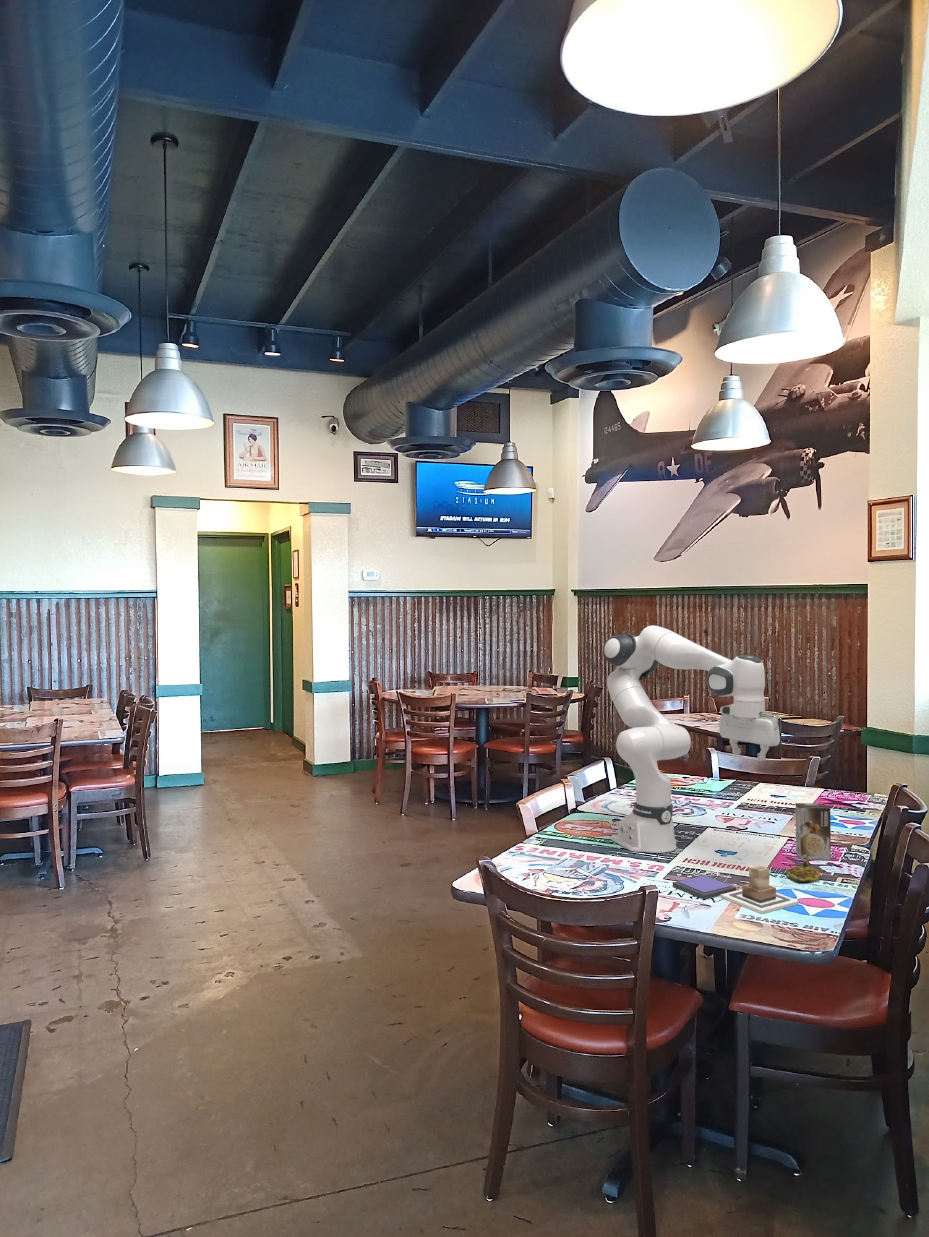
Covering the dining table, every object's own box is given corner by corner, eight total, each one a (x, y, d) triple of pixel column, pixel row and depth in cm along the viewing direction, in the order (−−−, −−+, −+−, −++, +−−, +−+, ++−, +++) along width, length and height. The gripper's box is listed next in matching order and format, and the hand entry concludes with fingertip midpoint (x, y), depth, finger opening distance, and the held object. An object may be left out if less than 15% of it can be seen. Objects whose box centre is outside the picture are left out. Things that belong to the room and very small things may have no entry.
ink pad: (672, 886, 243) (672, 881, 243) (704, 879, 249) (704, 874, 249) (704, 899, 233) (704, 894, 233) (736, 891, 239) (736, 886, 239)
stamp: (742, 896, 233) (742, 866, 232) (757, 892, 236) (758, 863, 235) (760, 903, 228) (760, 873, 227) (775, 899, 231) (776, 869, 230)
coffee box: (825, 854, 272) (826, 803, 271) (831, 860, 265) (831, 808, 265) (794, 853, 273) (795, 802, 272) (799, 859, 267) (800, 807, 266)
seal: (818, 891, 243) (822, 874, 256) (820, 874, 242) (824, 859, 256) (783, 882, 247) (788, 866, 260) (785, 866, 246) (790, 851, 260)
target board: (720, 897, 234) (720, 893, 234) (757, 888, 241) (757, 884, 241) (761, 914, 222) (762, 910, 222) (799, 904, 229) (799, 900, 229)
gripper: (785, 713, 250) (784, 761, 251) (730, 705, 268) (730, 750, 268) (769, 715, 247) (769, 763, 248) (715, 707, 265) (715, 752, 265)
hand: (748, 756), depth 258 cm, fingers open, 8 cm apart
